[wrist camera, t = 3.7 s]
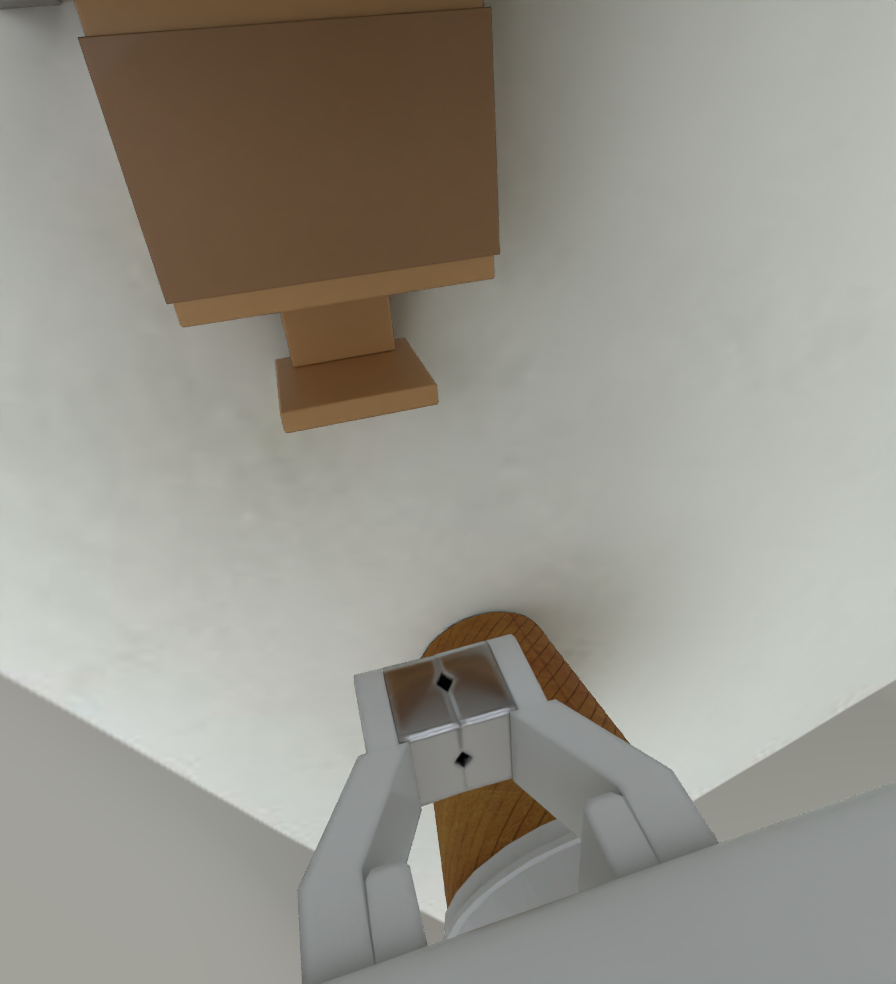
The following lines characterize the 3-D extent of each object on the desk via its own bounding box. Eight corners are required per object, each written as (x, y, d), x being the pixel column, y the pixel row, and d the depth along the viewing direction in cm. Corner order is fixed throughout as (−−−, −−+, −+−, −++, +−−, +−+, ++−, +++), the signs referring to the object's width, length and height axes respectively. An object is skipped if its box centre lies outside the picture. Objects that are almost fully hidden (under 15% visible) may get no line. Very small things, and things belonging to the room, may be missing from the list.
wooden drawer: (119, 29, 14) (63, -6, 10) (424, 7, 15) (490, -32, 11) (225, 381, 19) (217, 459, 14) (451, 341, 20) (505, 402, 16)
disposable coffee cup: (473, 754, 32) (572, 1041, 22) (336, 688, 27) (385, 1025, 17) (612, 639, 30) (788, 896, 20) (494, 545, 25) (653, 829, 15)
